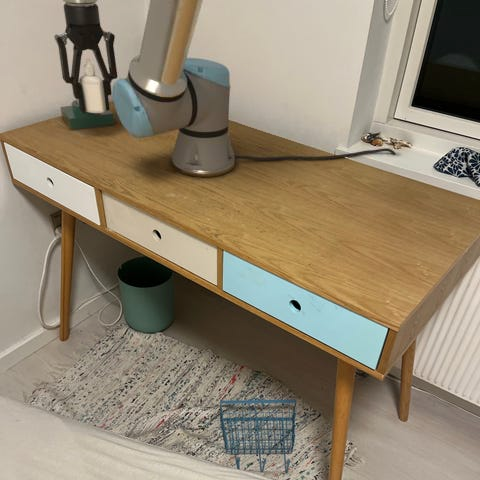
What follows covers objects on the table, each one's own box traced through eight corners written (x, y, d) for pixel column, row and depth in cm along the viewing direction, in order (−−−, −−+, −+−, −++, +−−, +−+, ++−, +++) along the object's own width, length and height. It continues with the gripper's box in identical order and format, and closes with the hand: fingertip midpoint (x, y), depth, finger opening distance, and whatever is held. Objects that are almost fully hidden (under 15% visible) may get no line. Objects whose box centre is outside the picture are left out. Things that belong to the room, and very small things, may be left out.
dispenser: (103, 112, 147) (101, 94, 144) (114, 124, 141) (112, 106, 138) (62, 117, 143) (59, 99, 139) (71, 130, 136) (67, 111, 133)
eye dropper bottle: (94, 115, 125) (87, 63, 117) (81, 110, 128) (73, 58, 120) (109, 111, 128) (102, 60, 120) (95, 106, 130) (88, 55, 122)
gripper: (115, -2, 118) (125, 101, 133) (34, 1, 111) (54, 109, 126) (125, 4, 113) (134, 110, 128) (41, 7, 106) (61, 119, 121)
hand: (94, 109), depth 127 cm, fingers closed on eye dropper bottle, 5 cm apart
